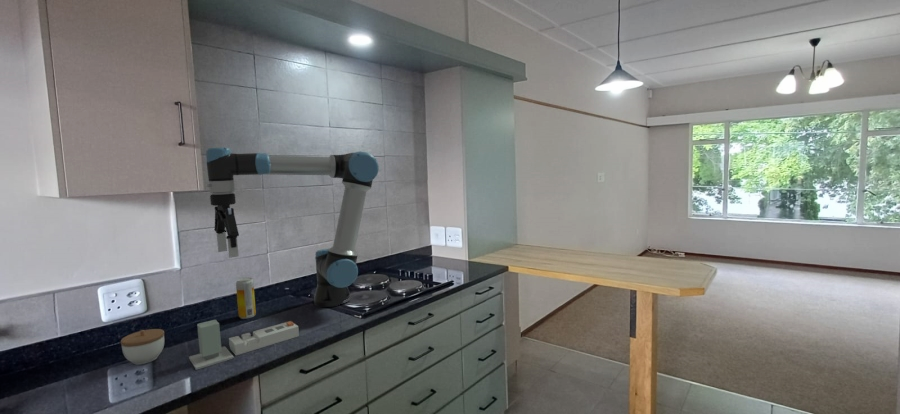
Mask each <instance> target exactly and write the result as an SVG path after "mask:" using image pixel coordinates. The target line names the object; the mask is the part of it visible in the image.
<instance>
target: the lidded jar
mask: <svg viewBox="0 0 900 414" xmlns="http://www.w3.org/2000/svg"><path fill="white" fill-rule="evenodd" d="M120 345H121V351H122V354H123V356H124V358H125V359H126V360H127V361H128V362H131V363H132V364H134V365H145V364H149V363H151V362H153V361H155V360H156V359H158V357H159V355H160V354H161V353H162V351H163V350H164V346H165V331H164V329H161V328H160V329H159V328H151V329H142V330H141V329H140V330H139V331H135V332H133V333H130V334H128V335H126V336H124V337H122V338H121V340H120Z"/></svg>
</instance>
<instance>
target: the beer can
mask: <svg viewBox="0 0 900 414" xmlns="http://www.w3.org/2000/svg"><path fill="white" fill-rule="evenodd" d="M235 286H236V287H235V288H236V300H237V302H236V303H237V312H238V317H239V318H240V319H241V320H247V319H251V318H254V317H255V316H256V314H257V311H256V309H257V308H256V299H255V298H256V297H255V285H254V279H253V278H252V277H241V278H238V279H237V280H236V283H235Z"/></svg>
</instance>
